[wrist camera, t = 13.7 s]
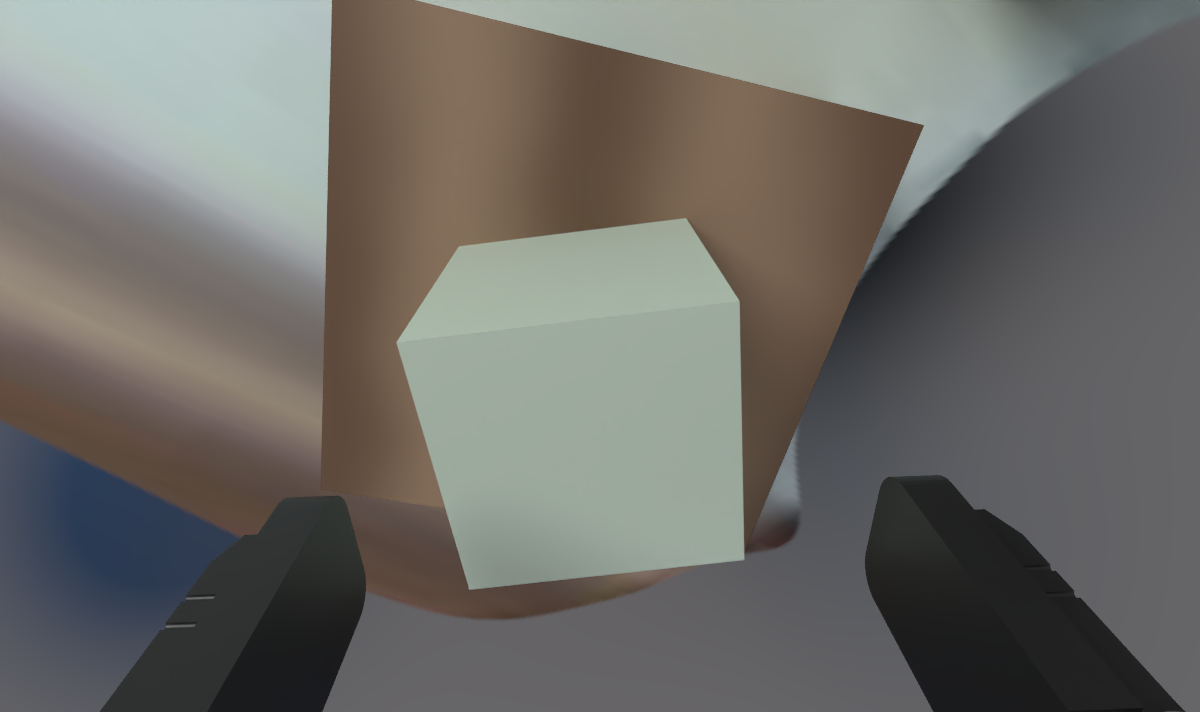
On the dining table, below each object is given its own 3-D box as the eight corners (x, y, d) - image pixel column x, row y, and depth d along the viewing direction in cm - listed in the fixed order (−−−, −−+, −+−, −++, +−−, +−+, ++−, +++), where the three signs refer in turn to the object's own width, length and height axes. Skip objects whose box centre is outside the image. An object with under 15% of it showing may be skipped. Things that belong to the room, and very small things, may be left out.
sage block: (685, 218, 15) (739, 301, 10) (696, 413, 17) (744, 560, 12) (458, 246, 15) (396, 342, 10) (501, 435, 17) (469, 589, 12)
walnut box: (827, 106, 19) (924, 125, 14) (708, 444, 25) (743, 552, 19) (408, 4, 18) (332, -20, 12) (381, 389, 23) (320, 489, 18)
